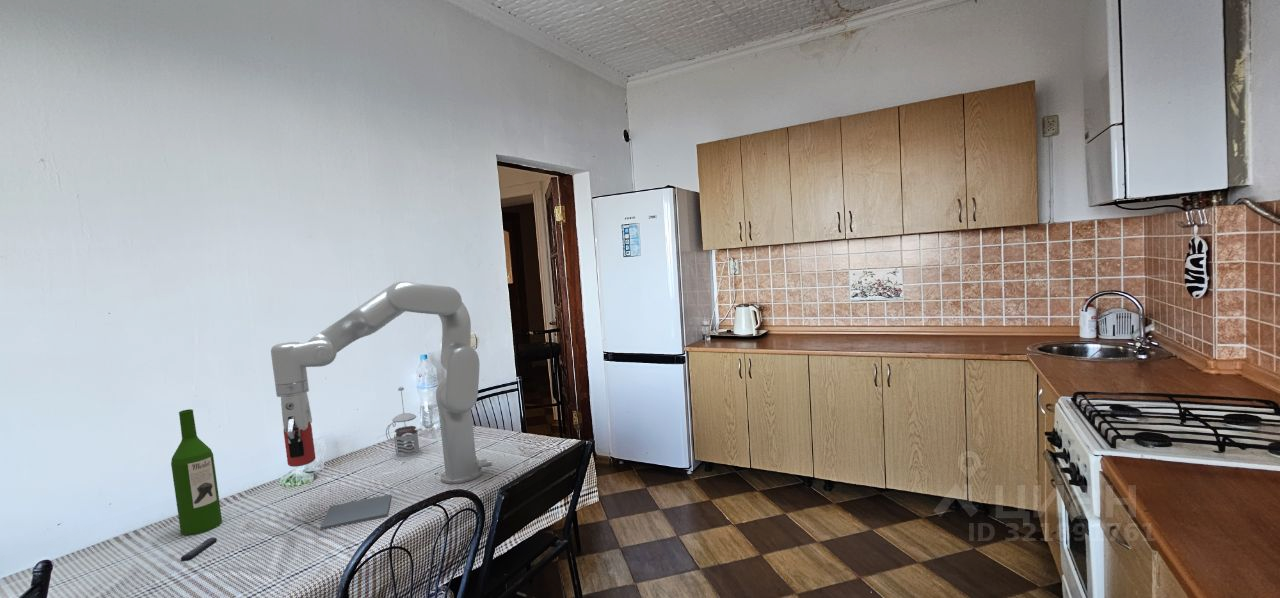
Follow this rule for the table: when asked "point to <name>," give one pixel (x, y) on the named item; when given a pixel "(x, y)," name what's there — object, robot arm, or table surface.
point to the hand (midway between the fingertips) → (300, 451)
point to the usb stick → (198, 549)
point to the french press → (405, 437)
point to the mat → (357, 511)
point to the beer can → (307, 444)
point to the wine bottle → (195, 481)
